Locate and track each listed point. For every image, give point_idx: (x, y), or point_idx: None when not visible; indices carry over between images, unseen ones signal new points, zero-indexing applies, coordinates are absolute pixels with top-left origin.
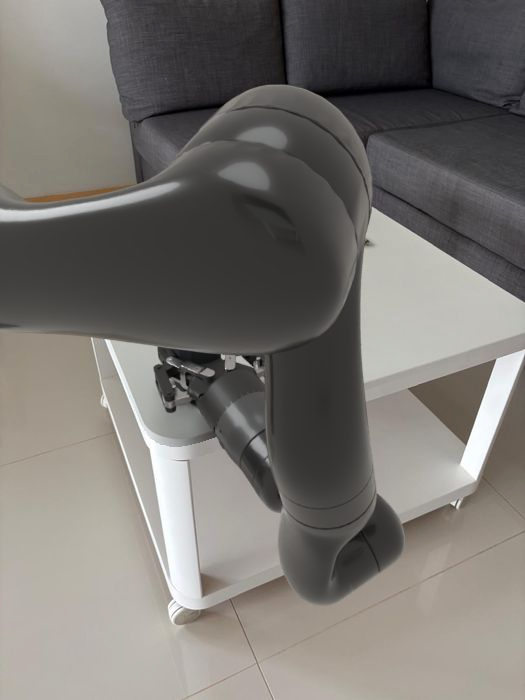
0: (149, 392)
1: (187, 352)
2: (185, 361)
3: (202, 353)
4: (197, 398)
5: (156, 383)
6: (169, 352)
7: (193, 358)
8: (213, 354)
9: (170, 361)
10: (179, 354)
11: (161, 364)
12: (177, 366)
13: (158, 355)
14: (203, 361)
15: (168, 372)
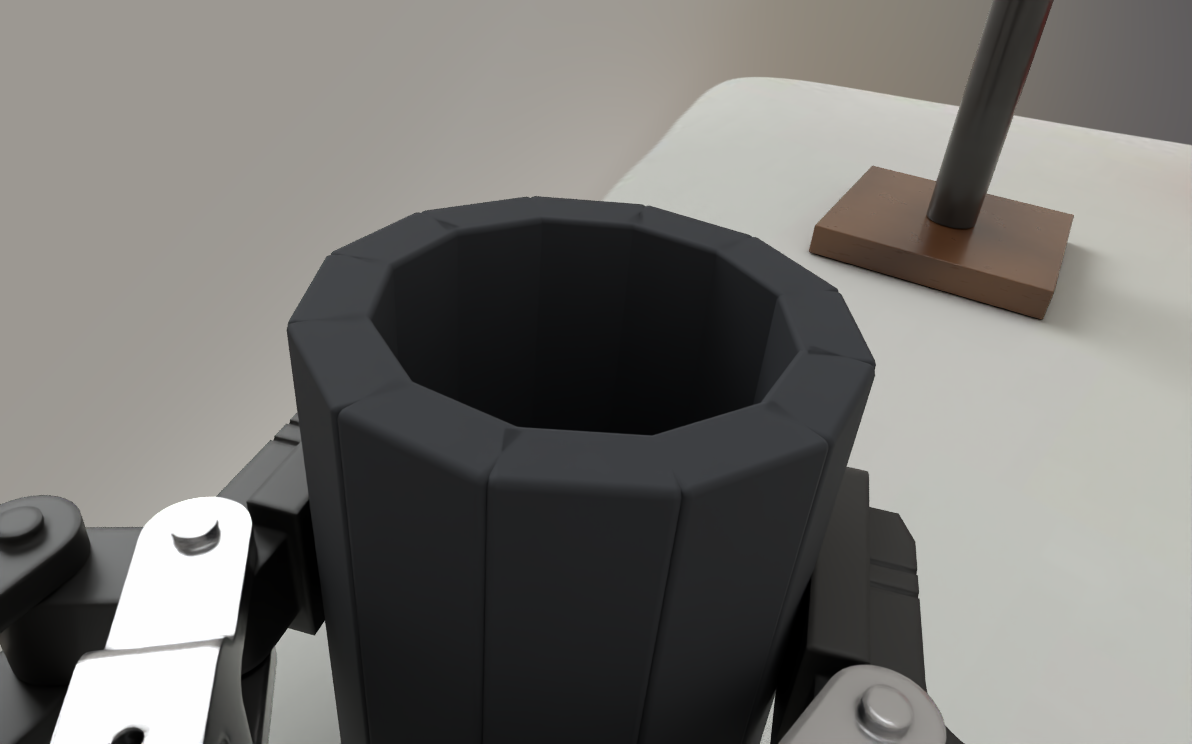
0: (285, 641)
1: (334, 554)
2: (338, 621)
3: (451, 662)
4: None
5: (3, 653)
6: (299, 464)
7: (366, 648)
8: (597, 738)
9: (170, 542)
10: (314, 527)
11: (79, 521)
12: (114, 635)
13: None
14: (454, 741)
15: (95, 629)
